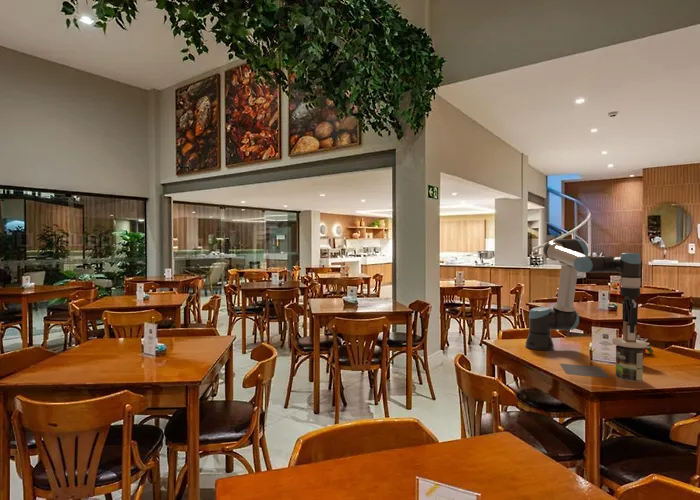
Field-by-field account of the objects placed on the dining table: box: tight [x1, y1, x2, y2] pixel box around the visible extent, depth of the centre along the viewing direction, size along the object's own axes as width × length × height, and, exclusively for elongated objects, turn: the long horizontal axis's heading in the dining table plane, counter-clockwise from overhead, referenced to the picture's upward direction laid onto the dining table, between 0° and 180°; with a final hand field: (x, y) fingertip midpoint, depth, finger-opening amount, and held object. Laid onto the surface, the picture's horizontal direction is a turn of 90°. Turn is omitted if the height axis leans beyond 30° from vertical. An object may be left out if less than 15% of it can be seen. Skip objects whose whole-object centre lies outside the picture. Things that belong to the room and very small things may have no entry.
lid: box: [612, 320, 647, 348], centre depth 186 cm, size 13×13×10 cm
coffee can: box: [615, 345, 644, 382], centre depth 186 cm, size 10×10×14 cm
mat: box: [559, 363, 611, 379], centre depth 197 cm, size 18×18×1 cm
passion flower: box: [636, 334, 654, 355], centre depth 233 cm, size 11×11×12 cm
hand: (629, 338), depth 186 cm, fingers closed on lid, 4 cm apart
